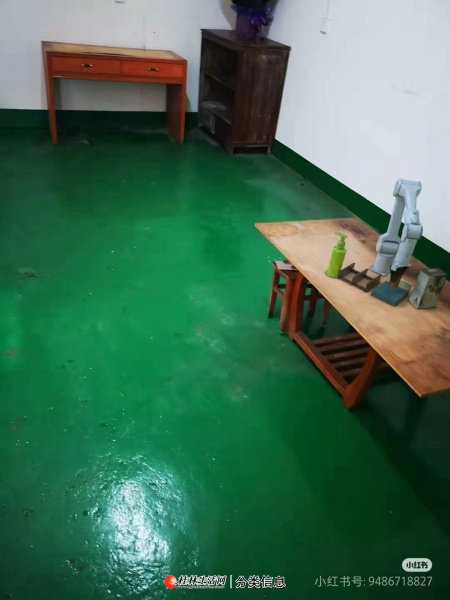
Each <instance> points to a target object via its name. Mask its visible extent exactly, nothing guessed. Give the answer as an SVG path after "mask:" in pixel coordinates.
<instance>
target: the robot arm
mask: <svg viewBox="0 0 450 600" xmlns="http://www.w3.org/2000/svg"><path fill="white" fill-rule="evenodd" d="M422 188H423V184H422V182H421V180H420V181H419V180H418V181H417V180H411V179H404V178H403V179H402V178H398V179H397V180H396V181H395V183H394V187H393V191H392V196H393V197H394V204H393V208H392V212H391V215H390V219H389V224H388V227H387V231H386V232H385V233H382V234H381V235H379V236H378V240H377V242H376V246H375V250H376V252H377V255H376V257H375V261H374V263H373V266H371V267H369V270H370V271H372V272H375V273H377V274H379V275H382V276H384V277H385V276H388V274H391V276H390V281H391V282H394V283H395V282H396V281H397V279H398V277H399V275H400V274H401V275H402V276H403V275H404V274H405V272H406V271H407V270H408V269H409V268H410V267H411V266H412V263H410V261H411V259H412V256H413V253H414V250H415V248H416V245H417V243H418V240H420V239H421V238H422V236H423V233H424V226H423V225H422V223H421V222H420V210H418V209H417V199H418V197H419V195H420V194H421V191H422ZM402 220H403V222H404V224H403V228H402V234H401V237H400V236H399V231H400V227H401V225H402Z"/></svg>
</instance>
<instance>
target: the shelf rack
mask: <svg viewBox="0 0 450 600" xmlns="http://www.w3.org/2000/svg"><path fill="white" fill-rule="evenodd" d="M355 266H356V262H352V263H351V264H349V265H347V266H345V267H344V268H342V269H341V270H340V271H339V275H338V277H337V279H338V280H341V281H343V282H345V283H347V284H349V285H350V286H353V287H355V288H358V289H360V290H361V291H363V292H365V293H366V292H368V291H369V290H371V289H372V288H374V287H375V286H376V285H378V284H380V281H381V279H382V276H383V275H381V274H379V275H377V276H375V277H372V276H369V275H367V274H368V271H369V268H365V269H363V270H362V271H358V270H357V269H355ZM351 272H352V273H354V274H356V275H354V276H352V278H351V280H350V279H348V278H346V277H345V276H346V275H348V274H350V273H351ZM364 279H367V280H369V281H367V283H365V286H364V285H363V286H362V285H361V284H359V283H358V282H360V281H361V280H364Z"/></svg>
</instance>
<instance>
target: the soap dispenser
mask: <svg viewBox="0 0 450 600" xmlns="http://www.w3.org/2000/svg"><path fill="white" fill-rule="evenodd" d="M334 235H335V236H339V237H340V239H339V240H338V241H337V243H336V245H335V246H333V248H332V250H331V255H330V259H329V263H328V267H327V271H326V275H327V276H329V277H331V278H335V279H336V278H337V279H338V275H339V271H340V270H342V269H343V265H344V262H345V259H346V258H345V257H346V254H347V249H346V241H345V239H346V238H348V235H346V234H344V233H342V232H337V231H336V232H334Z"/></svg>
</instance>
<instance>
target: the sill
mask: <svg viewBox="0 0 450 600" xmlns="http://www.w3.org/2000/svg"><path fill="white" fill-rule="evenodd" d="M386 276H387V277H386V280H385V281H384V282H382V283H381V284H380V285H378V286H377V287H375V288H374V289H372V290H371V293H370V296H371V297H373V298H376V299H377V300H380V301H382V302H384V303H386V304H388V305H390V306H393V307H395V306H397V305H398V304H399V303H400V302H402V301H403V300H404V299H406V297H408V296H409V294H410V291H411V289H412V287H413V283H411V282H410V281H407V280H405V279H403V278H401V280H400V283H399V286H398V287H392V286H390V285H389V280H390V276H391V273H388V274H387V275H386Z"/></svg>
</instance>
